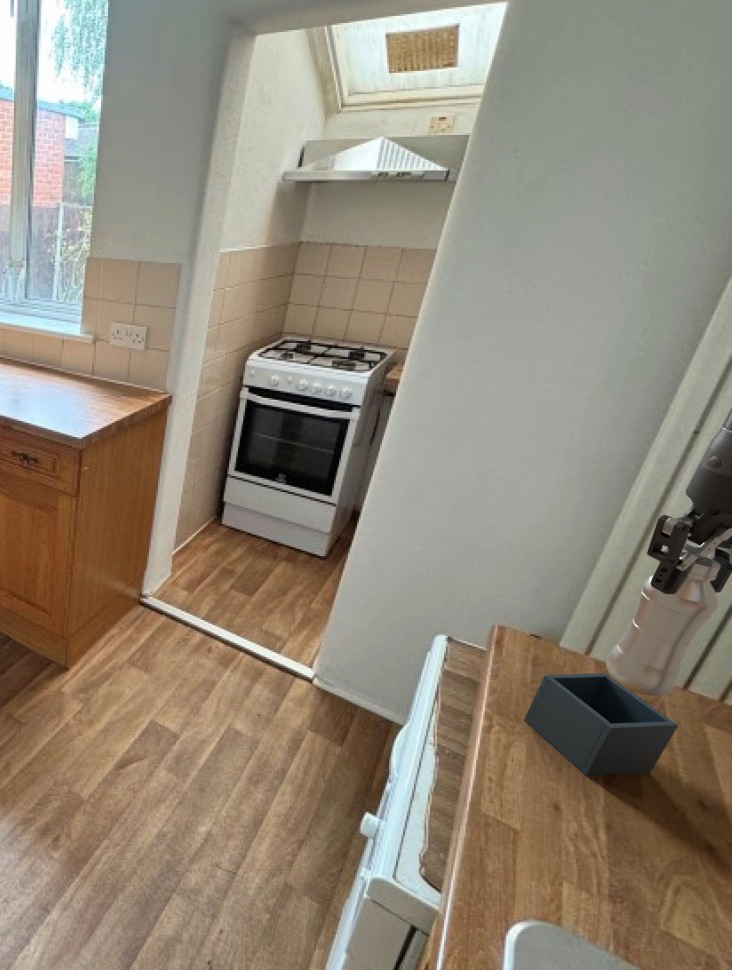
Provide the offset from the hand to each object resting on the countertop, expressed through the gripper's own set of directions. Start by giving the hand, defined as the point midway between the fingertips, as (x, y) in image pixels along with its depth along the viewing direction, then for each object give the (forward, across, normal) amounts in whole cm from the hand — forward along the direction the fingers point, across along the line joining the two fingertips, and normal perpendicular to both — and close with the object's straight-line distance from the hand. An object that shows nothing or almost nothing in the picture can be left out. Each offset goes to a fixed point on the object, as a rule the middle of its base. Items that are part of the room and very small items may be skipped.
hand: (684, 589), depth 76 cm
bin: (+36, +9, +7) cm, 37 cm away
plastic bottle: (+16, 0, 0) cm, 16 cm away
